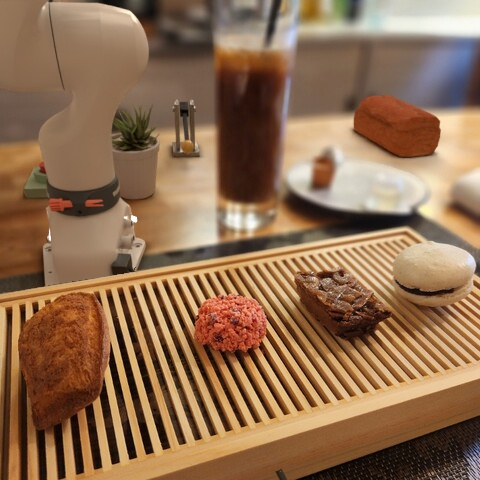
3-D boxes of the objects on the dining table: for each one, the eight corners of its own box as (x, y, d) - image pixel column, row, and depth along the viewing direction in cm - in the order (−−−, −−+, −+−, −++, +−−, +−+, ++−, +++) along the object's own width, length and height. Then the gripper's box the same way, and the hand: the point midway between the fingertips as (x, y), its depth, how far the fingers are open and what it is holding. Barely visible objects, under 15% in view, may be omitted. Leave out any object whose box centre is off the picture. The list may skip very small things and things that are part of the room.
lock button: (58, 174, 105) (56, 167, 103) (39, 175, 104) (37, 167, 103) (60, 167, 108) (59, 160, 106) (42, 168, 107) (40, 160, 106)
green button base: (72, 196, 104) (69, 180, 102) (26, 198, 103) (21, 181, 100) (78, 175, 113) (75, 159, 111) (36, 176, 112) (31, 159, 109)
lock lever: (194, 156, 117) (194, 146, 114) (181, 156, 117) (181, 147, 114) (189, 110, 123) (189, 100, 121) (177, 110, 123) (177, 100, 120)
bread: (386, 125, 153) (395, 90, 146) (440, 153, 135) (453, 115, 128) (346, 128, 149) (353, 93, 142) (396, 159, 130) (407, 120, 123)
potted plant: (107, 208, 101) (92, 112, 88) (107, 182, 111) (94, 92, 98) (165, 205, 103) (159, 110, 90) (160, 179, 113) (154, 91, 100)
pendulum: (199, 156, 126) (198, 106, 118) (173, 156, 125) (170, 106, 117) (197, 145, 132) (196, 97, 124) (172, 146, 131) (169, 97, 123)
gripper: (-51, -11, 84) (-26, 74, 93) (66, -7, 87) (79, 74, 96) (-41, -14, 89) (-18, 66, 98) (70, -10, 92) (83, 67, 100)
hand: (31, 70), depth 97 cm, fingers closed
